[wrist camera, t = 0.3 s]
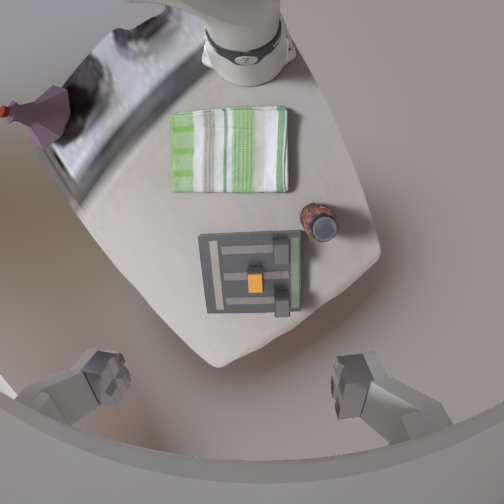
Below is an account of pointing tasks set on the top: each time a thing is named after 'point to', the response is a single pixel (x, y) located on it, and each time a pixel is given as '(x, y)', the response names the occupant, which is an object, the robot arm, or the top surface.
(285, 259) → the block
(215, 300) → the panel
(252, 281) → the breaker mid
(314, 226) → the supplement bottle
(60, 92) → the flask
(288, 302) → the block
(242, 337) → the top surface
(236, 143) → the dish towel
